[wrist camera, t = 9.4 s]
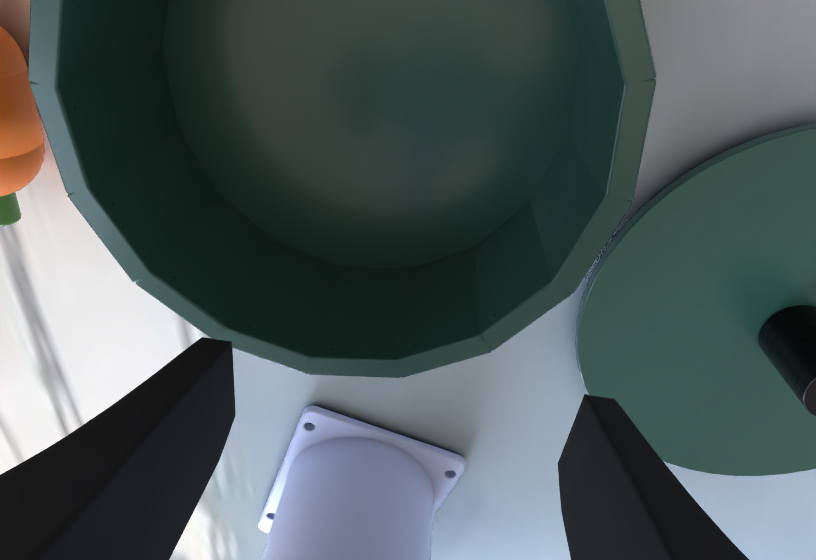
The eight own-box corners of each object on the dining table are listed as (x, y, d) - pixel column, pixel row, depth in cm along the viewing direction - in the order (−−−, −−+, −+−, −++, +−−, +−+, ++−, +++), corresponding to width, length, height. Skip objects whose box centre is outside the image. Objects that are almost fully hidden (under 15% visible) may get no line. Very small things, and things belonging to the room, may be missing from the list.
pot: (475, 326, 23) (480, 435, 18) (125, 195, 21) (19, 275, 16) (692, -56, 16) (803, -56, 11) (194, -301, 14) (43, -440, 9)
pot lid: (804, 496, 27) (861, 587, 23) (505, 388, 25) (514, 468, 21) (1133, 219, 19) (1300, 288, 15) (737, 32, 17) (816, 57, 13)
